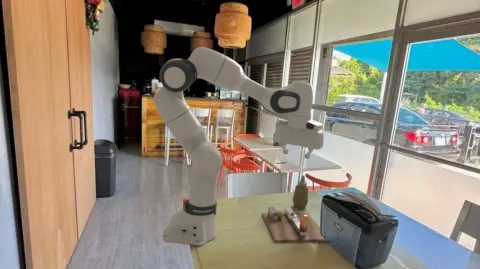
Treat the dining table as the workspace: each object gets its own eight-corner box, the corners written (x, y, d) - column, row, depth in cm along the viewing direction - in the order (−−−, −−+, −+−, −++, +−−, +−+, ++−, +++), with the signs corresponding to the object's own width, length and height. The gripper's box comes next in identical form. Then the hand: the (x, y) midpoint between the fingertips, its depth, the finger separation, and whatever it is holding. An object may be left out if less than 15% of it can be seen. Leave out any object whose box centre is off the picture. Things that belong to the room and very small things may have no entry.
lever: (298, 237, 111) (301, 217, 109) (283, 212, 132) (285, 195, 130) (308, 236, 111) (311, 217, 110) (291, 212, 132) (293, 195, 131)
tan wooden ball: (276, 220, 124) (277, 213, 124) (274, 216, 128) (275, 209, 127) (283, 220, 125) (284, 213, 124) (281, 216, 128) (282, 209, 128)
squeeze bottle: (310, 209, 142) (314, 177, 138) (299, 212, 137) (303, 179, 134) (299, 203, 148) (302, 172, 145) (288, 205, 144) (292, 174, 140)
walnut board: (274, 242, 108) (275, 230, 107) (261, 215, 130) (262, 204, 129) (329, 241, 112) (331, 229, 111) (307, 215, 134) (309, 205, 133)
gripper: (272, 120, 109) (269, 152, 111) (321, 126, 97) (317, 162, 99) (279, 118, 114) (277, 150, 116) (326, 125, 102) (322, 159, 104)
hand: (296, 156), depth 108 cm, fingers open, 8 cm apart
